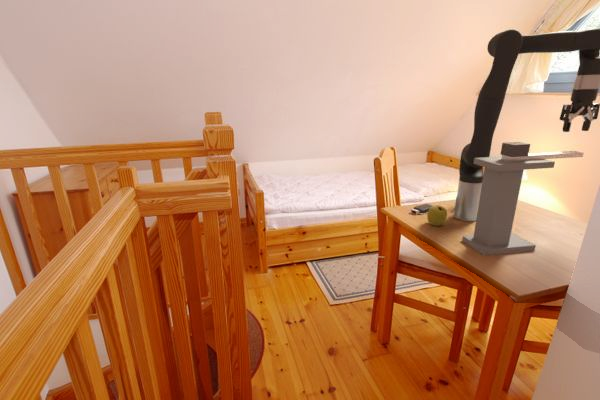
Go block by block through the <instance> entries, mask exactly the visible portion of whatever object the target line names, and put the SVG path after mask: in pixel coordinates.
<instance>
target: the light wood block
mask: <svg viewBox="0 0 600 400" xmlns="http://www.w3.org/2000/svg"><path fill="white" fill-rule="evenodd" d="M530 147H531V144H530V143H526V142H521V141H514V142H513V141H512V142H509V141H507V142H502V143H501V148H500V155H501V156H502V158H501V159H502V160H506V161H522V160H539V159H545V160H553V159H555V160H556V159H568V158H569V159H571V158H573V159H574V158H583V157H584V152H583V151H576V150H568V151H567V150H565V151H550V152H549V151H548V152H547V151H546V152H545V151H544V152H531V153H529V152H530Z"/></svg>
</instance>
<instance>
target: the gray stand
mask: <svg viewBox="0 0 600 400" xmlns="http://www.w3.org/2000/svg"><path fill="white" fill-rule="evenodd" d="M501 158H502V155H501V156H489V157H482V158H474V164H477V165H480V166H483V181H482V187H481V193H480V200H479V206H478V212H477V218H476V221H475V225H474V232H473V234H469V235H462V237H461V241H462V242H464V243H465V244H466V245H468V246H469V247H470V248H472V249H473V250H475V251H476V252H478V253H479V254H481V255H482V256H489V255H498V254H499V255H500V254H509V253H518V252H531V251H536V248H537V247H536V244H534V243H533V242H531V241H528V240H527V239H525V238H523V237H522V236H520V235H517V234H516V233H514V232H512V229H513V225H514V220H515V215H516V210H517V204H518V200H519V194H520V191H521V185H522V181H523V175H524V170H540V169H541V170H542V169H554V166H555V164H556V163H555V162H556V161H554V160H551V159H539V160H522V161H506V160H502V159H501Z"/></svg>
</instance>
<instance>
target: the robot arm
mask: <svg viewBox="0 0 600 400" xmlns="http://www.w3.org/2000/svg"><path fill="white" fill-rule="evenodd" d="M576 51H578V59H579V65H578V69H577V73H576V77H575V80H574V83H573V87H572V92H571V96H570V101H571V104H566V103H565V104H563V105H562V109H561V113H560V115H559V121H563V126H562V132H564V133H569V132H570V131H571V125H572V121H573V120H574V119H575V118H577V117H578V116H579V117H580V116H581V117H582V118H583V120H584V121H583V122H582V123H583V124H582V126H581V127H582V128H581V131H583V132H588V131H589V130H590V128H591V124H592V122H593V121H594V120H597V119H598V117H599V112H600V103H599V102H598V103H595V101H596V100H597V97H598V93H599V88H600V27H599V28H593V29H592V28H591V29H587V30H586V29H585V30H564V31H553V32H546V33H540V34H539V33H537V34H528V35H525V34H524V35H522V32H520V30H518V29H515V28H512V29H511V28H510V29H508V30H507V29H506V30H504V31H502V32H499V33H496V34H495V35H494V36H492V38H491V39H490V40H489V41H488V44H487V52H488V54H489V55H490V56H491V57H493V61H492V65H491V69H490V70H489V74H488V76H487V78H486V79H485V81H484V83H483V85H482V87H481V89H480V91H479V93H478V96H477V100H476V102H475V103H476V104H475V107H474V108H475V109H474V114H473V115H474V119H473V120H474V121H473V133H472V137H471V140H470V142H469V143H468V144H466V145H465V146H464V147H463V148H462V150H461V154H460V161H459V170H458V172H459V179H458V186H457V193H456V194H457V195H456V197H455V202H454V203H455V205H454V209H453V219H457V220H459V221H463V222H476V218H477V212H478V206H479V200H480V193H481V187H482V181H483V175H484V167H483V166H480V165H477V164H474V158H482V157H491V150H492V142H493V138H494V134H495V131H496V128H497V124H498V122H499V118H500V115H501V111H502V108H503V106H504V105H503V104H504V102H505V99H506V95H507V90H508V87H509V84H510V79H511V76H512V72H513V70H514V66H515V65H516V61H517V59H518V56H519V55H520V54H534V53H535V54H537V53H538V54H539V53H541V54H542V53H545V54H547V53H551V54H554V53H568V52H569V53H571V52H576Z"/></svg>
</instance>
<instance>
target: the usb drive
mask: <svg viewBox="0 0 600 400" xmlns="http://www.w3.org/2000/svg"><path fill="white" fill-rule="evenodd" d="M432 206H433V205H432V204H429V203H424V204H419V205H417V206H414V207H413V208H411V209H410V213H411V212H412V213H411V214H413V213H415V214H418V215H420V214H419V213H425V214H427V213H426V212H428V210H429V209H430V208H431V207H432ZM415 214H414V215H415Z"/></svg>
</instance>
